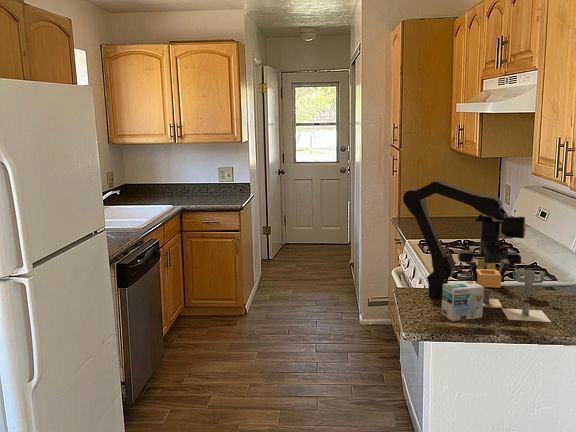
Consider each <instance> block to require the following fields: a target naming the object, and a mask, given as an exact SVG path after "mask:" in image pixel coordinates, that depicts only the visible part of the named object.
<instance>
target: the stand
mask: <svg viewBox="0 0 576 432" xmlns="http://www.w3.org/2000/svg"><path fill="white" fill-rule="evenodd" d="M490 292H491V291H490V290H488V289H484V294H483V308H492V309H493V308H495V309H502V308H503V309H504V307H503V306H502V305H503V304H501V302H500V301H499V299H497V298H490V297H491V295H490Z"/></svg>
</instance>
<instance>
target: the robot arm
mask: <svg viewBox="0 0 576 432" xmlns="http://www.w3.org/2000/svg"><path fill="white" fill-rule="evenodd" d="M434 194H437V195H440V196H443V197H446V198H449V199H451V200H454V201H457V202H460V203H462V204H465V205H469V206H470V207H472V208H474V209H475V210H476V211H477V212H479V213H480V214H479V215H478V217H476V218H475V219H474V221H475V222H480V223H481V224H480V241H479V250H480V253H479V252H477V253H476V252H475V253H473V252H472V250H471V249H467V250H466V249H460V250H458V251H457V259H458V261H459V262H460V263H466V265H468V266H469V267H470V269H471V273H472V276H473V279H474V283H476V282H477V272H476V269H477V262H476V260H478V259H484V261H485V263H495V265H496V264H499V269H498V271H499V273H500V274H501V281H502V280H503V278H504V276H505V274H506V272H507V270H508V269H509V268H510V267H513V266H514V265H520V264H522V256H521V255H520V254H519V253H518V252H517V251H509V249H508V248H509V247H501V245H500V232H501V234H502V236H504V237H505V238H512V239H513V238H514V239H525V237H526V230H527V229H526V227H527V226H526V217H525V216H509V214H508V212H506V210H505V209H504V207H503V202H502V200H501V198H499V197H498V196H496V195H489V194H480V193H474V192H471V191H468V190H466V189H463V188H459V187H457V186H454V185H451V184H448V183H445V182H443V181H441V180H434V181H431V183H429V184H427V185H425V186H422V187H421V188H416V187H415V188H412V189H410V190H407V191H405V193H404V194H403V197H402V202H403V203H404V205H405V207H406V208H407V210H408V211H409V212H410V214H412V215H413V216H414V218H415V220H416V223H417V225H418V228H419V229H420V232H421V234H422V236H423V239H424V241H425V244H426V246H427V248H428V251H429V253H430V255H431V266H432V272H430V274H428V275H427V277H426V280H427V283H428V284H427V286H428V287H427V296H428V297H429V298H432V299H440V300H442V291H443V284H447V283H449V281H448V279H449V278H451V276H452V275H453V274H454V273H455V270H456V264H457V262H456V261H455V260H454V257H453V254H452V252H449V253H447V252H446V251H445V249H444V247H443V246H442V243H441V241H440V238H439V236H438V234H437V232H436V229H435V227H434V225H433V222H432V220H431V217H430V215H429V213H428V207H427V205H428V204H427V200H426V198H428V197H430V196H432V195H434ZM482 256H483V257H482Z"/></svg>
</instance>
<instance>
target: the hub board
mask: <svg viewBox="0 0 576 432" xmlns="http://www.w3.org/2000/svg"><path fill="white" fill-rule="evenodd" d="M530 306H531V304H530V302H529V303H528V302H523V303H522V306H521V307H522V308H519V309H517V308H504V307H503V308H501V309H502V312H503V313H504V315H505V317H506V318H507V320H509V321H527V322H529V321H530V322H544V323H545V322H546V323H551V322H552V321H551V320H550V319H549V318H548V316H547V314H545V313H544V311H543V310H540V309H539V310H537V309H530Z"/></svg>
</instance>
